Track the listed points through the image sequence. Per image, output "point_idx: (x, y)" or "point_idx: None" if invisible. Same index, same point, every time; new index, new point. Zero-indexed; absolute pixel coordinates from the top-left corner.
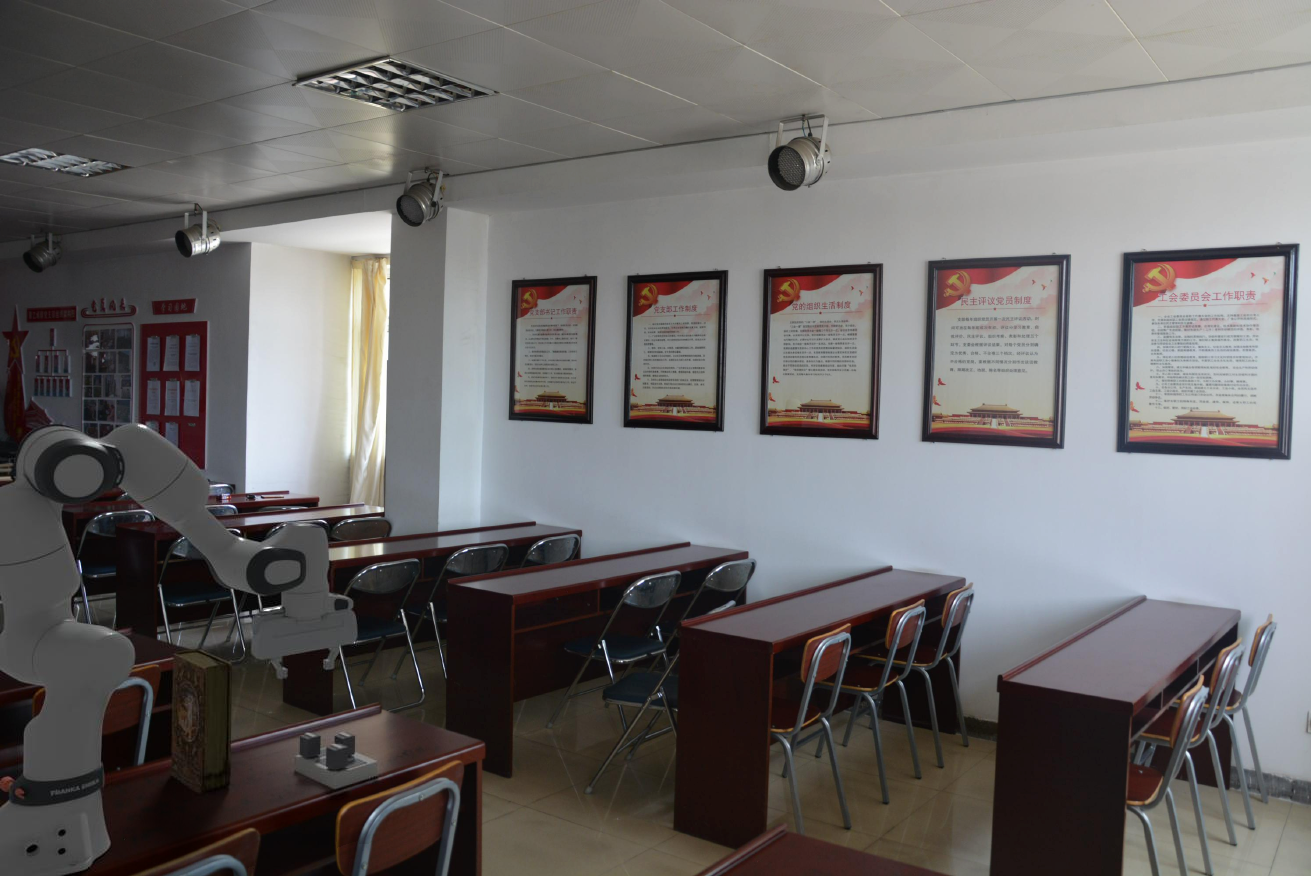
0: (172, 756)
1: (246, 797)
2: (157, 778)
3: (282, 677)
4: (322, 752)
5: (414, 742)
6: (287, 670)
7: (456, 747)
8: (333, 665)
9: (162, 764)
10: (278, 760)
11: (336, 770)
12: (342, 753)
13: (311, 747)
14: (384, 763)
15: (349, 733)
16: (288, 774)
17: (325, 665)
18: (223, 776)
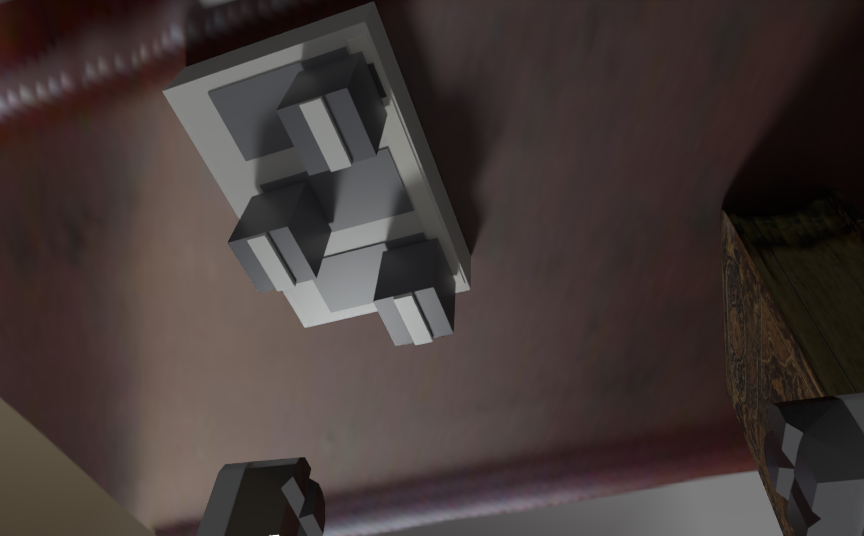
0: None
1: (707, 86)
2: None
3: (845, 396)
4: (368, 277)
5: (44, 309)
6: (807, 468)
7: None
8: (220, 486)
9: None
10: (495, 351)
11: None
12: (309, 89)
13: (417, 265)
14: (152, 177)
15: (250, 274)
16: (499, 231)
17: (305, 514)
18: (751, 237)
